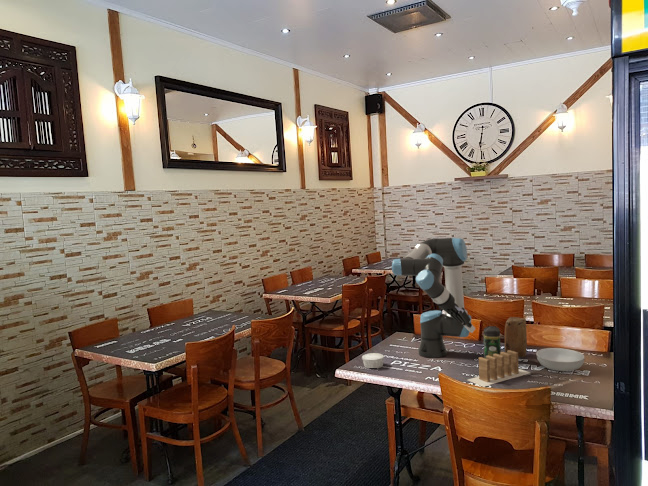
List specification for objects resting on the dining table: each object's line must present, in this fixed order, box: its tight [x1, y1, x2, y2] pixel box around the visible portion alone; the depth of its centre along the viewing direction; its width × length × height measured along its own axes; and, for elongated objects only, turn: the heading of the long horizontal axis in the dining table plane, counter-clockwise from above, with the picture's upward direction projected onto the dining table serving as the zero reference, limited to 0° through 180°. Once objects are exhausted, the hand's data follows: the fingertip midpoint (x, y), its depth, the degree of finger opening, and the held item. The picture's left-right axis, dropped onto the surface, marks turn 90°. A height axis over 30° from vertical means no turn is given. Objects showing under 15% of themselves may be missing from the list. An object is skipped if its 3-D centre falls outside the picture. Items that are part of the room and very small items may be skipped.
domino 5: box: [507, 350, 520, 374], centre depth 226 cm, size 2×5×10 cm, turn 27°
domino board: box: [467, 368, 531, 388], centre depth 222 cm, size 30×10×1 cm, turn 117°
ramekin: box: [361, 352, 385, 369], centre depth 249 cm, size 11×11×5 cm
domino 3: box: [493, 354, 505, 378], centre depth 222 cm, size 2×5×10 cm, turn 27°
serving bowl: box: [535, 347, 585, 372], centre depth 231 cm, size 21×21×7 cm
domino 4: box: [500, 351, 512, 376], centre depth 224 cm, size 2×5×10 cm, turn 27°
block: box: [504, 316, 528, 358], centre depth 252 cm, size 11×8×20 cm
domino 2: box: [486, 355, 497, 380], centre depth 220 cm, size 2×5×10 cm, turn 26°
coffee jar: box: [483, 325, 502, 359], centre depth 242 cm, size 10×8×19 cm
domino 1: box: [478, 356, 490, 382], centre depth 218 cm, size 2×5×10 cm, turn 26°
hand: (472, 330), depth 217 cm, fingers closed
